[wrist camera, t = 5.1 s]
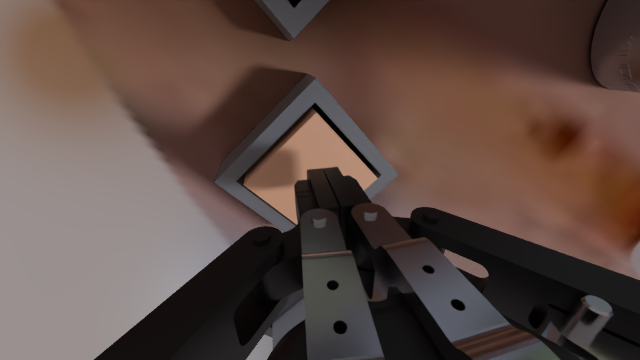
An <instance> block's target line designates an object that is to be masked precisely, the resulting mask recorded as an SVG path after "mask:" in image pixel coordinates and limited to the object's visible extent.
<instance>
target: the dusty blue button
mask: <svg viewBox="0 0 640 360" xmlns="http://www.w3.org/2000/svg"><path fill="white" fill-rule="evenodd" d="M303 320H305V306H304V296H302V297H301V298H300V299H299V300H298V301H296V302H295V303H294V304H293V305H292V306H290V307H289V308H288V309H287V310H285V311H284V312H283V313H282V314H281V315H279V316H278V317H277V318H276V319H275V320H274V321H273V323H272V334H273V349H274V347H275V346H276V345H277V343H278V342H279V341H280V340H281V338H282V337H283V336H284V335H285V334H286V333H287V332H288V331H289V330H290V329H292V328H293V327H294V326H296V325H297V324H298V323H300V322H302V321H303Z"/></svg>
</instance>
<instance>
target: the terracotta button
mask: <svg viewBox="0 0 640 360" xmlns="http://www.w3.org/2000/svg"><path fill="white" fill-rule="evenodd" d="M329 167H338V168H339V170H340V171H341V173H342V175H343V176H347V175H349V176H351V177H353V178H355V179H356V180H357V181H358V183H359V184H360V186H361V187H362V189H363V191H364V190H365V189H366V188H368V187H369V186H370V185H371V184H372V183H373V182H374V181H376V180H377V179H378V178H377V177H376V176H375V175H374V174H373V172H372V171H371V170H370V169H369V168H368V167H367V166H366V165H365V163H364V162H363V161H362V160H361V159H360V158H359V157H358V156H357V155H356V154H355V153H354V151H353V150H352V149H351V148H350V147H349V146H348V145H347V144H346V143H345V142H344V141H343V140H342V139H341V137H340V136H339V135H338V134H337V133H336V132H335V131H334V130H333V129H332V128H331V127H330V126H329V125H328V123H327V122H326V121H325V120H324V119H323V118H322V117H321V116H320V115H319V114H318V113H317V112H316V111H315V109H314V108H313V107H312V106H311V107H310V108H309V109H308V110H307V111H306V112H305V113H304V114H303V115H302V116H301V117H300V118H299V119H298V120H297V121H296V122H295V123H294V124H293V125H292V126H291V127H290V128H289V129H288V130H287V131H286V132H285V133H284V134H283V135H282V136H281V137H280V138H279V139H278V140H277V141H276V142H275V143H274V144H273V145H272V146H271V147H270V148H269V149H268V150H267V151H266V152H265V153H264V154H263V155H262V156H261V157H260V158H259V159H258V160H257V161H256V162H255V163H254V164H253V165H252V166H251V167H250V168H249V169H248V170H247V171H246V172H245V178H244V184H243V185H244V186H246V187H247V188H248V189H250V190H251V191H252V192H254V193H255V194H256V195H258V196H259V197H260V198H262V199H263V200H264V201H266V202H267V203H268V204H270V205H271V206H272V207H274V208H275V209H276V210H278V211H279V212H280V213H282V214H283V215H284V216H286V217H287V218H288V219H290V220H291V221H292V222H294V223H295V224H296V225H297V224H298V221H297V215H296V205H295V192H294V185H295V184H296V182H297V180H307V170H308V169H319V168H322V169H323V168H329Z"/></svg>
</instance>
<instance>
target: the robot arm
mask: <svg viewBox="0 0 640 360" xmlns="http://www.w3.org/2000/svg"><path fill="white" fill-rule="evenodd" d="M591 65H592V71H593V73H594V76H595V78H596V80H597V81H598V82H599V83H600V84H601V85H602V86H604V87H606V88H608V89H613V90H621V91H630V92H639V93H640V0H608V2H607V3H606V5H605V7H604V9H603V11H602V14H601V16H600V18H599V21H598V23H597V26H596V29H595V33H594V37H593V41H592V47H591ZM294 192H295V205H296V215H297V221H298V224H297V225H296V226H295V227H294V228H292V229H291V230H289V231H286V232H284V233H281V231H280V230H278V229H277V228H274V227H269V226H264V227H258V228H255V229H252V230H250V231H248V232H247V233H246V234H245V235H243V236H242V237H241V238H240V239H239V240H237V241H236V242H235V243H234V244H233V245H231V246H230V247H229V248H228V249H227V250H225V251H224V252H223V253H222V254H221V255H220V256H218V257H217V258H216V259H214V260H213V261H212V262H211V263H210V264H208V265H207V266H206V267H205V268H204V269H202V270H201V271H200V272H199V273H198V274H196V275H195V276H194V277H193V278H192V279H190V280H189V281H188V282H187V283H186V284H184V285H183V286H182V287H181V288H180V289H178V290H177V291H176V292H175V293H174V294H172V295H171V296H170V297H169V298H168V299H166V300H165V301H164V302H163V303H162V304H160V305H159V306H158V307H157V308H156V309H154V310H153V311H152V312H151V313H149V314H148V315H147V316H146V317H145V318H144V319H142V320H141V321H140V322H139V323H138V324H136V325H135V326H134V327H133V328H131V329H130V330H129V331H128V332H127V333H126V334H124V335H123V336H122V337H121V338H119V339H118V340H117V341H116V342H115V343H113V345H111V346H110V347H109V348H107V349H106V350H105V351H104V352H103V353H102V354H100V355H99V356H98V357H97V358H95V359H94V360H246V359H247V357H248V356H249V354H250V353H251V352H252V350H253V349H254V348H255V346H256V345H257V343H258V342H259V341H260V339H261V338H262V336H263V335H264V334H265V332H266V331H267V330H268V328H269V327H270V325H271V324H272V323H273V321H274V320H275V319H276V317H277V316H278V314H279V313H280V312H281V310H282V309H283V307H284V306H285V305H286V303H287V302H288V299H289V295H290V294H292V293H294V292H296V291H298V290H300V289H302V288H304V306H305V320H303V321H302V322H300V323H298V324H297V325H296V326H294V327H293V328H292V329H290V330H289V331H288V332H287V333H286V334H285V335H284V336H283V337H282V338H281V340H280V341H279V342H278V343H277V345H276V346H275V347H274V349H273V351H272V352H271V354H270V356H269V357H268V359H267V360H640V280H637V279H634V278H631V277H629V276H626V275H623V274H620V273H617V272H614V271H612V270H609V269H606V268H603V267H600V266H597V265H595V264H592V263H589V262H586V261H583V260H580V259H577V258H575V257H572V256H569V255H566V254H563V253H560V252H558V251H555V250H552V249H549V248H546V247H543V246H541V245H538V244H535V243H532V242H529V241H526V240H523V239H521V238H518V237H515V236H512V235H509V234H506V233H504V232H501V231H498V230H495V229H492V228H489V227H487V226H484V225H481V224H478V223H475V222H472V221H469V220H467V219H464V218H461V217H458V216H455V215H452V214H450V213H447V212H444V211H441V210H438V209H435V208H430V207H420V208H416V209H414V210H413V211H412V213H411V217H410V218H401V217H392V216H391V215H390V213H389V212H388V211H387V210H386V209H385V208H384V207H382V206H380V205H377V204H373V203H372V202H371V201H370V199H369V198H368V196H367V195H366V193H365V192H364V191H363V189H362V187H361V186H360V184H359V183H358V181H357V180H356V179H355V178H353V177H351V176H349V175H347V176H343V175H342V173H341V171H340V170H339V168H338V167H329V168H323V169H322V168H319V169H308V170H307V180H297V182H296V184H295V185H294ZM445 249H447V250H449V251H451V252H453V253H456V254H458V255H460V256H463V257H465V258H467V259H470V260H472V261H474V262H476V263H479V264H481V265H482V266H483V267H485V268H486V270H487V271H488V274H489V276H488V277H486V278H479V277H476V276H474V275H472V274H470V273H468V272H465V271H463V270H461V269H459V268H457V267H455V266H454V265H453V264H452V263H451V262H450V261H449V260H448V259H447V258H446V257H445V256H444V252H445Z"/></svg>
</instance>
